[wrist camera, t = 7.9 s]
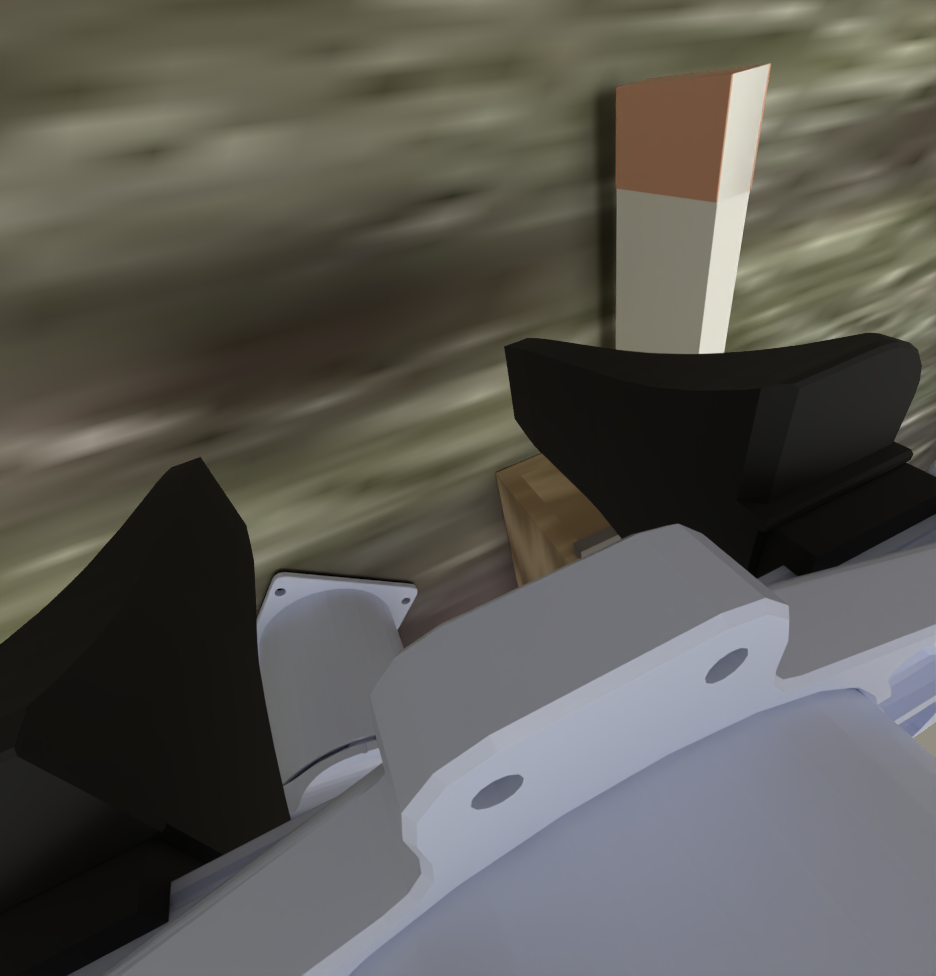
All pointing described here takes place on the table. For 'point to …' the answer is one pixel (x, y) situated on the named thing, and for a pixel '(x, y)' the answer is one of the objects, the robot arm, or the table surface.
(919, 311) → the table surface
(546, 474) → the ticket box
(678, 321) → the ticket
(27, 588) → the table surface
